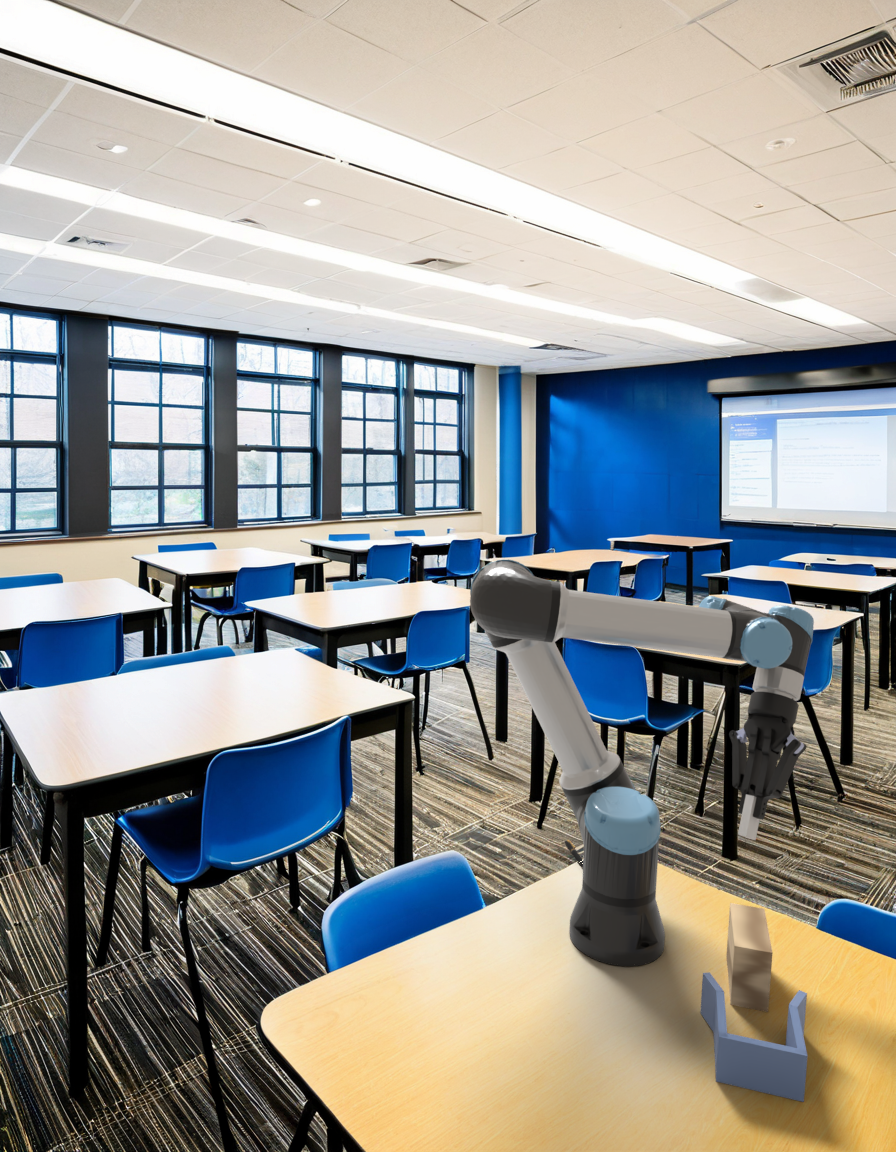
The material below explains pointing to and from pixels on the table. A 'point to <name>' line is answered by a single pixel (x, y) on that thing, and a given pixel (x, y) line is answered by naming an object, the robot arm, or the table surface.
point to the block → (749, 957)
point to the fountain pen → (573, 851)
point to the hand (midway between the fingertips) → (746, 837)
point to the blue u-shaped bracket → (757, 1049)
